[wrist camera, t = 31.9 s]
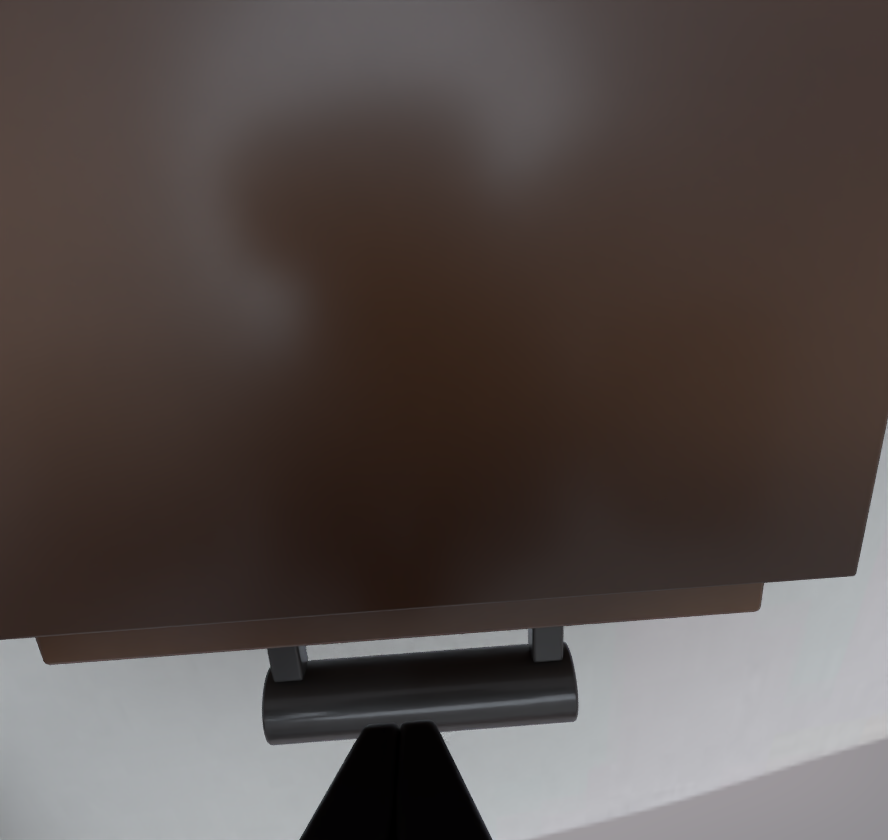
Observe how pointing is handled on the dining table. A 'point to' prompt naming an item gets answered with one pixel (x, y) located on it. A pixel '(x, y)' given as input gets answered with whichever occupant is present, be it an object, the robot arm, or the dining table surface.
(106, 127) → the cabinet
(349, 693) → the drawer
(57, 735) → the dining table surface
